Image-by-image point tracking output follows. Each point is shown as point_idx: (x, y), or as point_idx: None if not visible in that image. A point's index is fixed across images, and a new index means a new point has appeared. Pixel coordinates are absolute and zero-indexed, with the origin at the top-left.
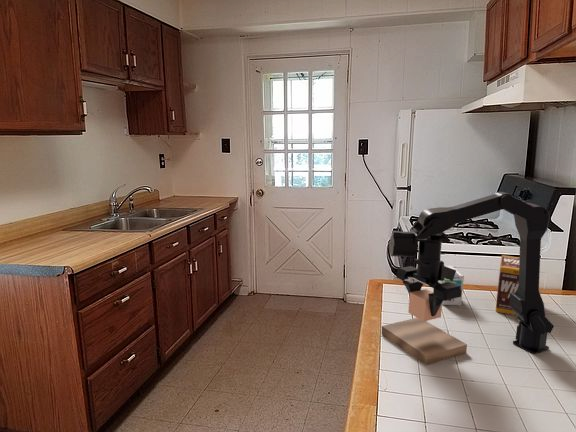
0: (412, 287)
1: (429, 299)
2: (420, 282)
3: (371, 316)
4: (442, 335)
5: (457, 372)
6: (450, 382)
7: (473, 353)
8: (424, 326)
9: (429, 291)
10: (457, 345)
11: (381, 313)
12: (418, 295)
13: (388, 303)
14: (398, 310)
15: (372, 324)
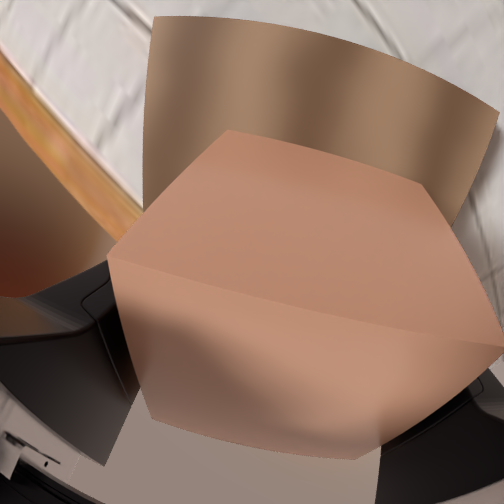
0: (110, 426)
1: (385, 468)
2: (35, 411)
3: (48, 149)
4: (384, 99)
5: (481, 252)
6: None
7: (496, 88)
8: (250, 78)
9: (241, 328)
10: (474, 151)
11: (41, 99)
12: (249, 440)
13: (7, 26)
14: (49, 19)
15: (92, 191)
